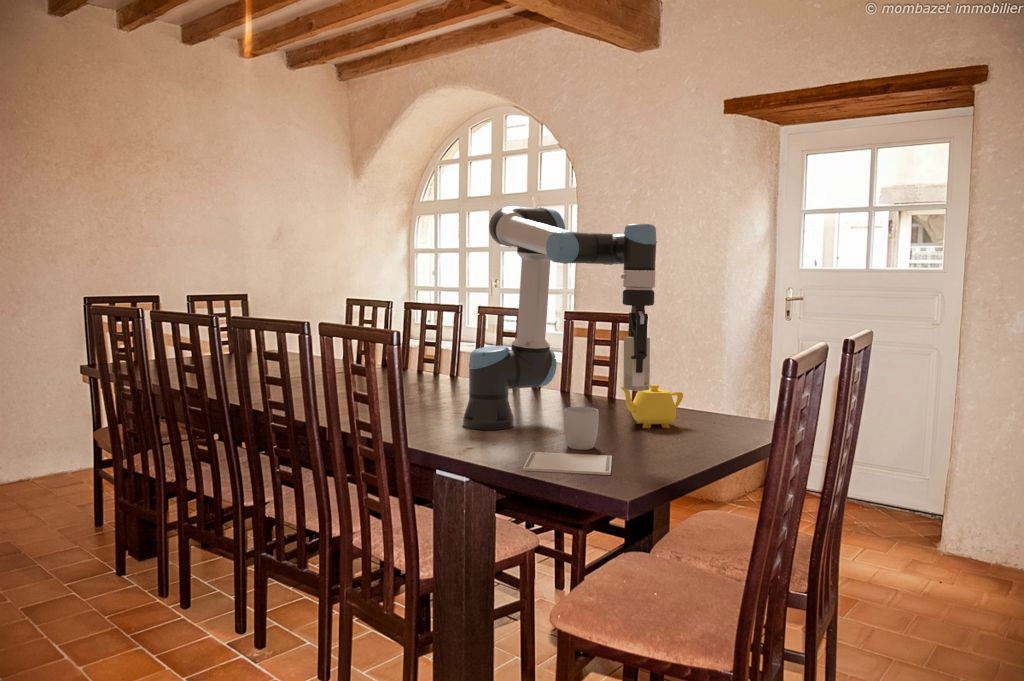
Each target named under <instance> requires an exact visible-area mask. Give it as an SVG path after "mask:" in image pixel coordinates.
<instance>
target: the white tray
mask: <svg viewBox="0 0 1024 681" xmlns="http://www.w3.org/2000/svg"><path fill="white" fill-rule="evenodd" d="M612 458H613V456H612V455H608V454H607V455H603V454H583V453H564V452H561V453H560V452H543V451H541V452H540V451H531V452H530V454H529V456H528V458H527V460H526V462H525V463H524V466H523V467H522V471H525V472H528V471H529V472H544V473H545V472H547V473H549V472H550V473H564V474H565V473H566V474H581V475H583V474H584V475H585V474H586V475H601V476H611V473H612V461H613V459H612Z"/></svg>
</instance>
